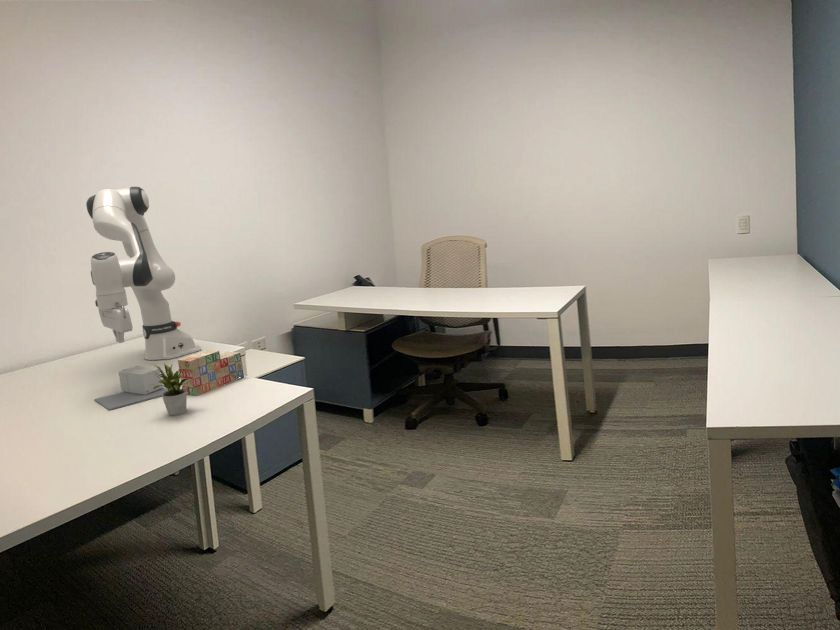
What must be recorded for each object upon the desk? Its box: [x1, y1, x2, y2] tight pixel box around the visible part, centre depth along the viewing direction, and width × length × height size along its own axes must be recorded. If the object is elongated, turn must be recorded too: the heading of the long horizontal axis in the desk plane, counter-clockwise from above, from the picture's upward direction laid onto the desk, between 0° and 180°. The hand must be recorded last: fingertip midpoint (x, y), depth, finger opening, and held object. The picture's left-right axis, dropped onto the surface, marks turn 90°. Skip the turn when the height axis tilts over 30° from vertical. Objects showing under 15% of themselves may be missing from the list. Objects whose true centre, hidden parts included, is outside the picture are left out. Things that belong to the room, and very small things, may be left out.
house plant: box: [142, 360, 192, 416], centre depth 185 cm, size 14×14×16 cm
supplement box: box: [118, 365, 164, 395], centre depth 210 cm, size 7×7×13 cm
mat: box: [94, 387, 168, 411], centre depth 206 cm, size 20×16×1 cm
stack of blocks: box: [177, 349, 245, 397], centre depth 211 cm, size 21×6×12 cm, turn 149°
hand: (120, 342), depth 207 cm, fingers closed
